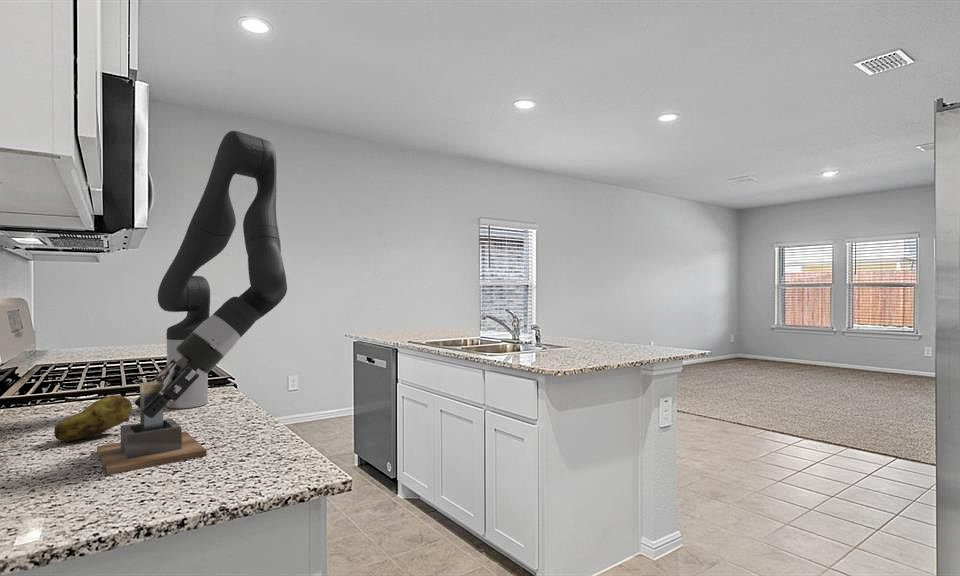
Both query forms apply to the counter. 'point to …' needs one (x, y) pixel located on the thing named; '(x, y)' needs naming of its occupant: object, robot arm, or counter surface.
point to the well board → (149, 448)
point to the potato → (94, 419)
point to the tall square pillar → (146, 395)
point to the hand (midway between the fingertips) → (142, 410)
